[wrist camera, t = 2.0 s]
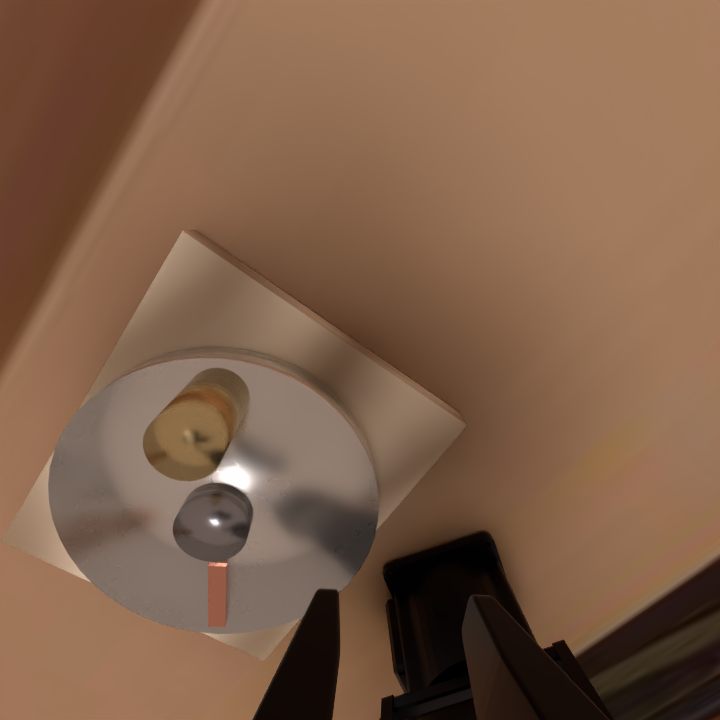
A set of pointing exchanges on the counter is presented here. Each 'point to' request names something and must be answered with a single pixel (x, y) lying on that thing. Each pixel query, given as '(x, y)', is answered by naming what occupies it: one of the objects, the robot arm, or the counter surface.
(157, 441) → the handwheel
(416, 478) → the base plate
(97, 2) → the counter surface
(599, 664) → the counter surface
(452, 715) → the robot arm
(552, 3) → the counter surface
